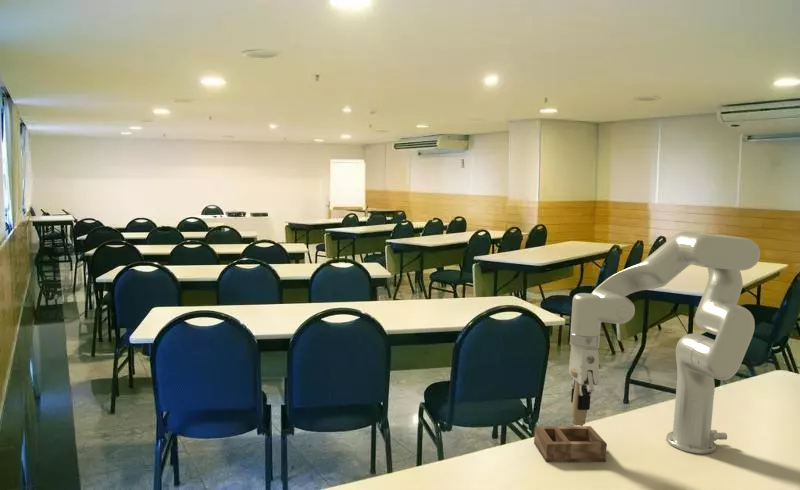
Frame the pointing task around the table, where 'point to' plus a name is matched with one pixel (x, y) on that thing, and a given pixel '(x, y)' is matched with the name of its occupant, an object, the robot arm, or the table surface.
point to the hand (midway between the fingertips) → (580, 405)
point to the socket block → (570, 444)
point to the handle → (577, 414)
